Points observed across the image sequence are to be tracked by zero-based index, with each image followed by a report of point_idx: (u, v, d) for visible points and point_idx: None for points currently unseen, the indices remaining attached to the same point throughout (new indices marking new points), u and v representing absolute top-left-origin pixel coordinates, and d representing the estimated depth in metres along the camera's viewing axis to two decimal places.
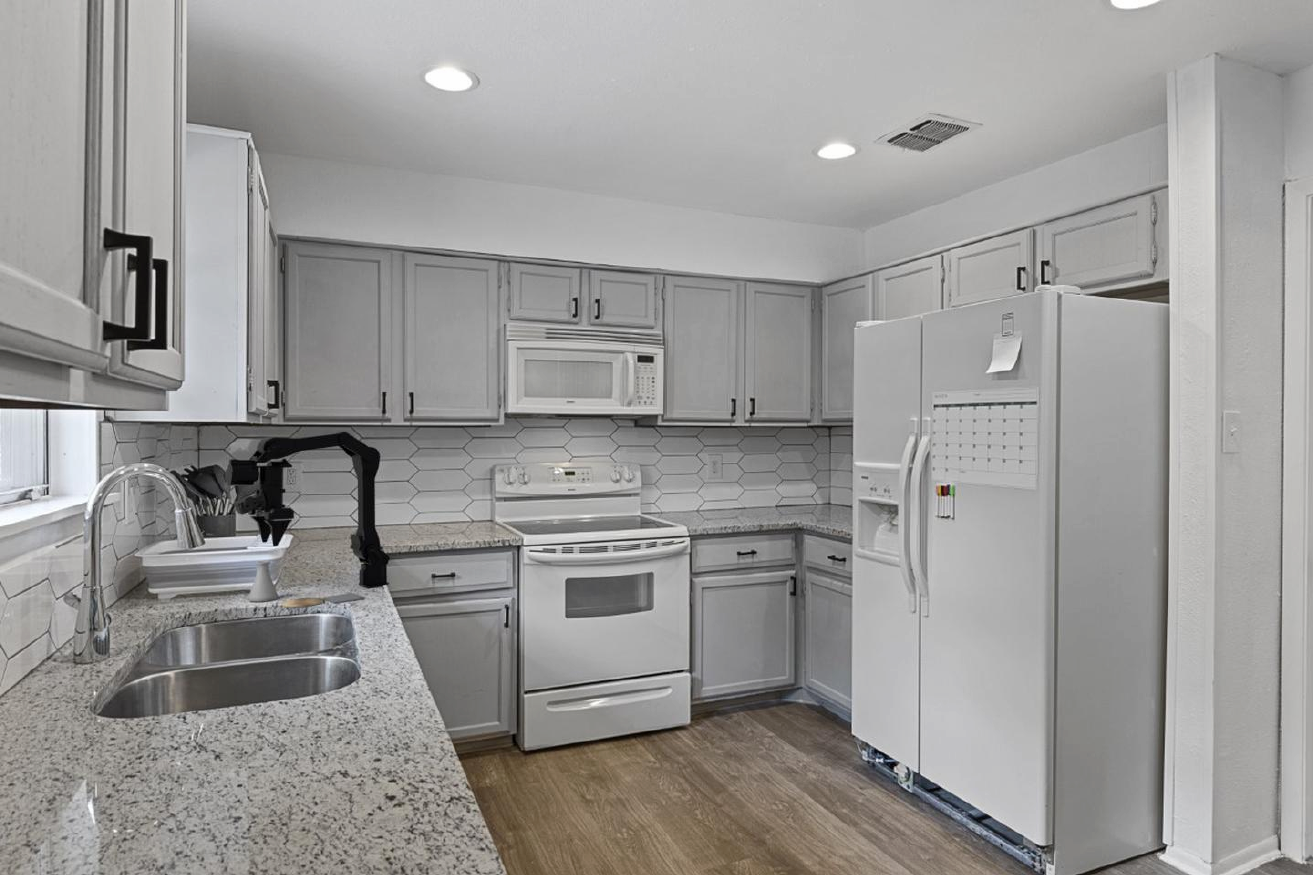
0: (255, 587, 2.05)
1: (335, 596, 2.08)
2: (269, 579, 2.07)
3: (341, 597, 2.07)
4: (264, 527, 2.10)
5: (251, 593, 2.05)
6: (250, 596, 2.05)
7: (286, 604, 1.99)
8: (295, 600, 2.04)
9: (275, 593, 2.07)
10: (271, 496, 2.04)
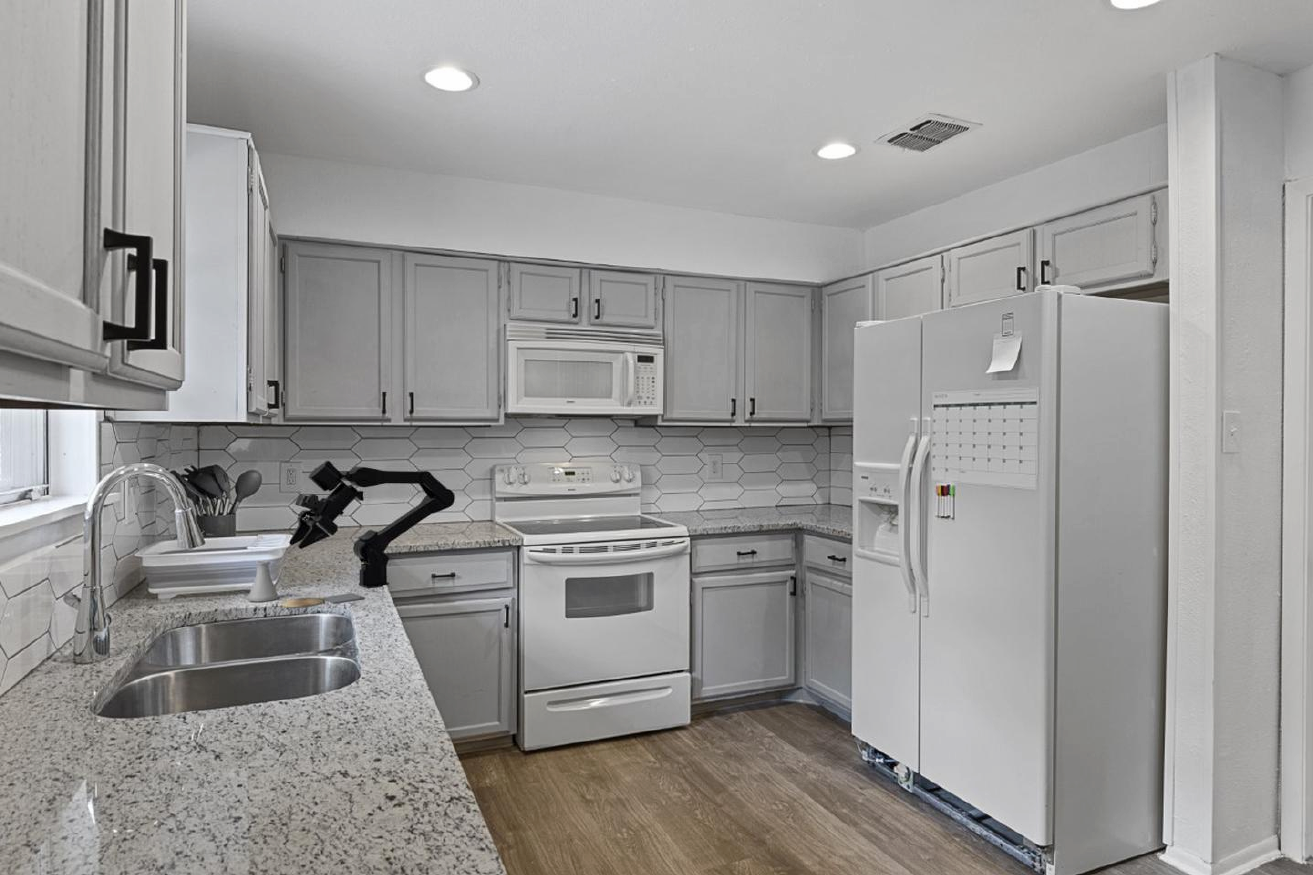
0: (255, 587, 2.05)
1: (335, 596, 2.08)
2: (269, 579, 2.07)
3: (341, 597, 2.07)
4: (301, 532, 2.17)
5: (251, 593, 2.05)
6: (250, 596, 2.05)
7: (286, 604, 1.99)
8: (295, 600, 2.04)
9: (275, 593, 2.07)
10: (330, 509, 2.15)
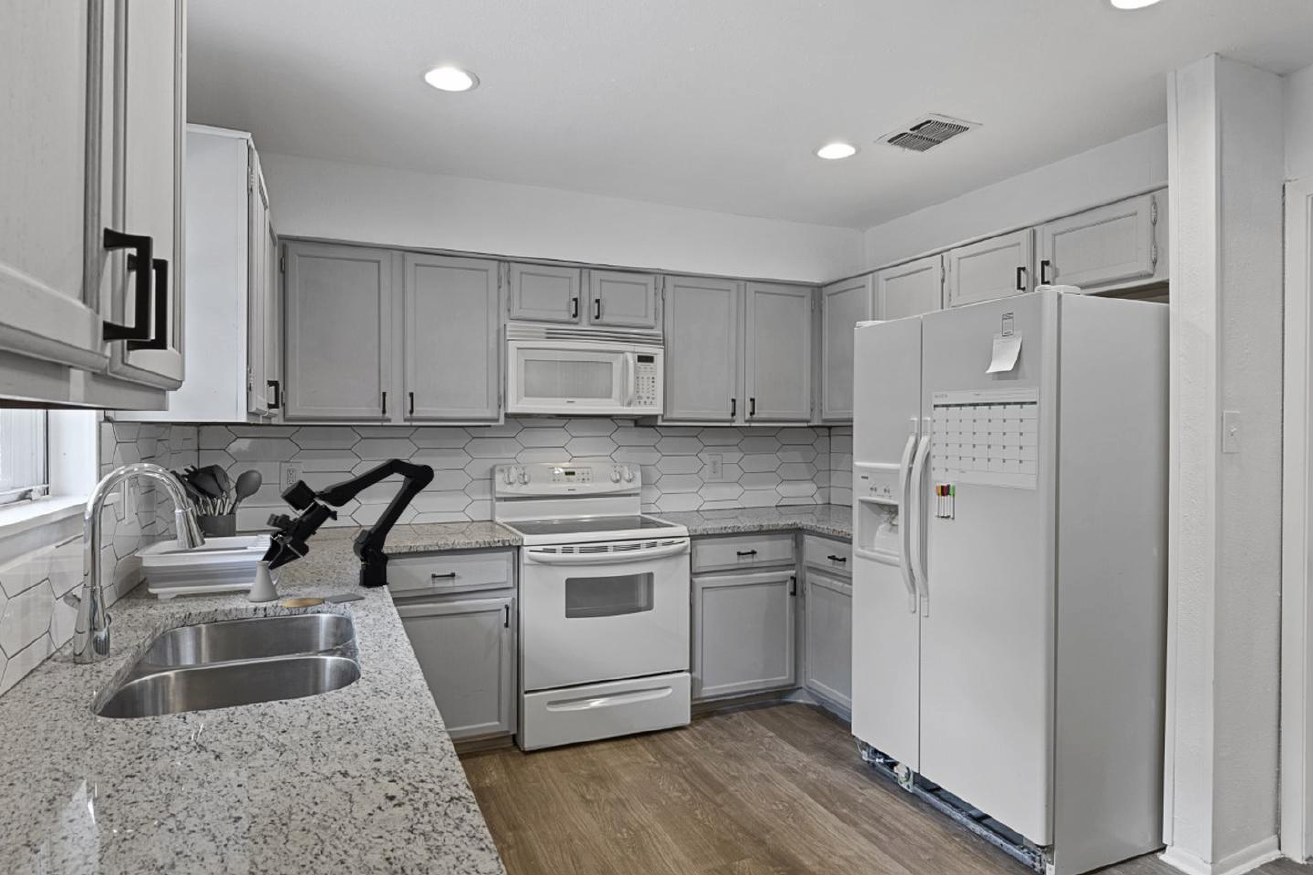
0: (255, 587, 2.05)
1: (335, 596, 2.08)
2: (269, 579, 2.07)
3: (341, 597, 2.07)
4: (272, 552, 2.13)
5: (251, 593, 2.05)
6: (250, 596, 2.05)
7: (286, 604, 1.99)
8: (295, 600, 2.04)
9: (275, 593, 2.07)
10: (302, 529, 2.10)
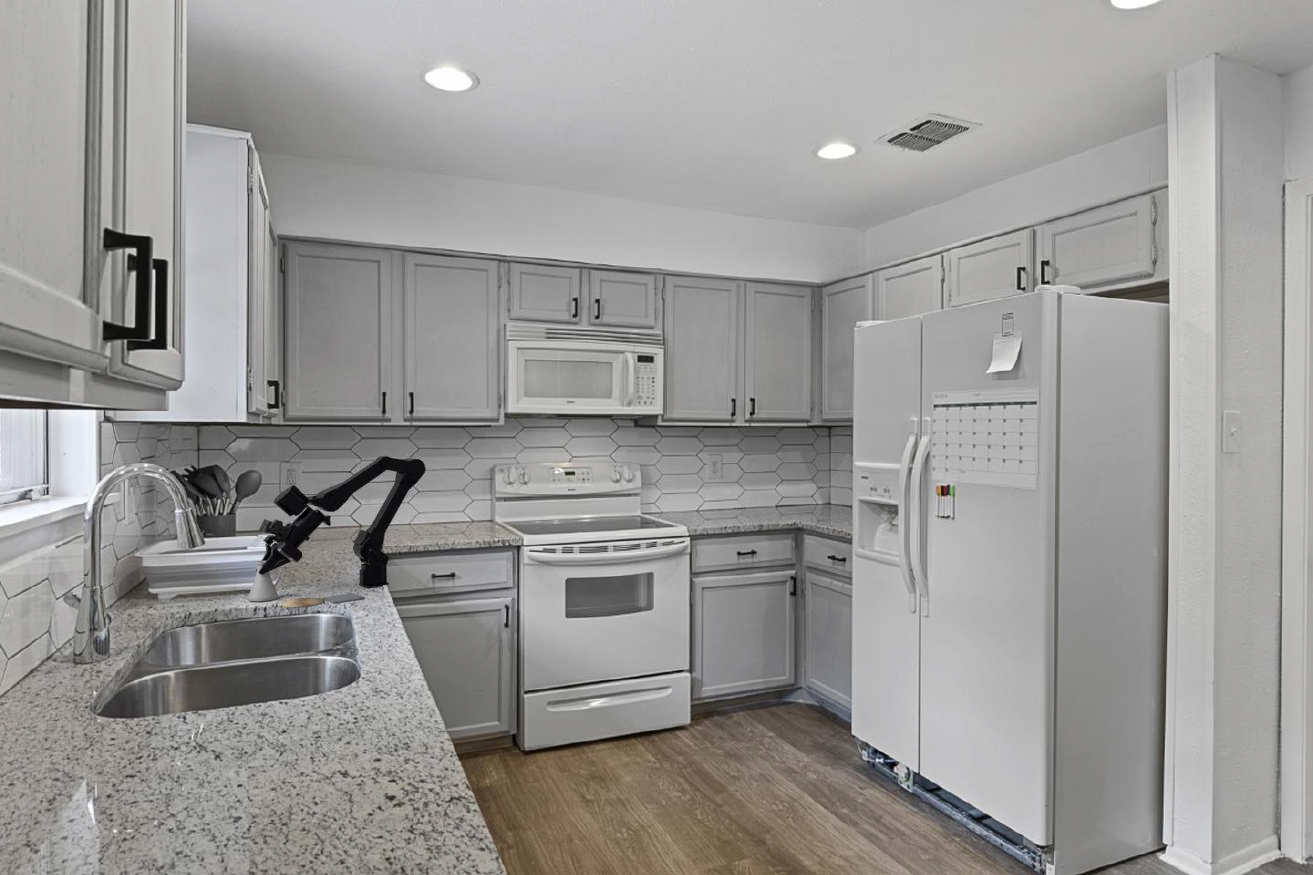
0: (255, 587, 2.05)
1: (335, 596, 2.08)
2: (269, 579, 2.07)
3: (341, 597, 2.07)
4: None
5: (251, 593, 2.05)
6: (250, 596, 2.05)
7: (286, 604, 1.99)
8: (295, 600, 2.04)
9: (275, 593, 2.07)
10: (295, 534, 2.09)
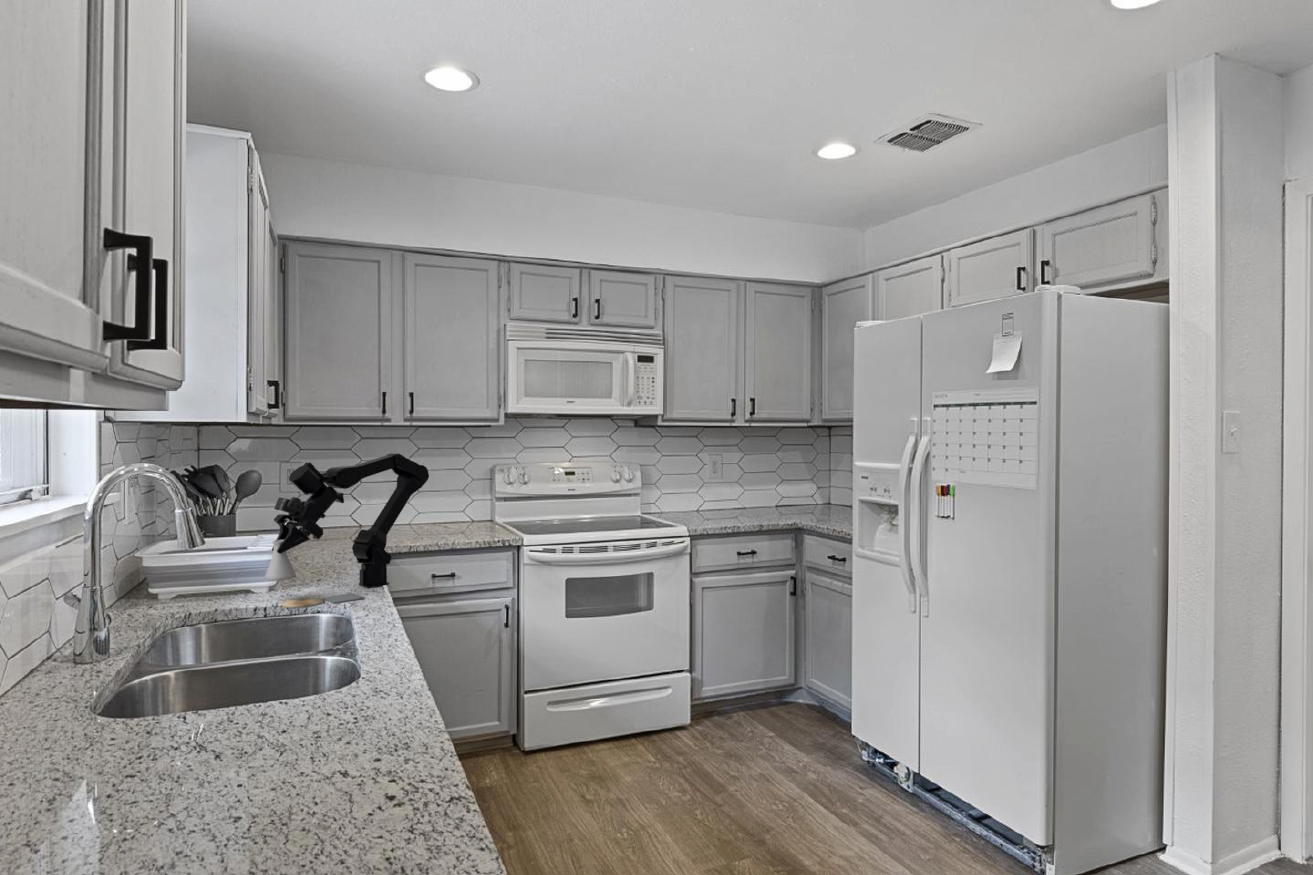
0: (273, 566, 2.02)
1: (335, 596, 2.08)
2: (286, 558, 2.04)
3: (341, 597, 2.07)
4: (284, 538, 2.06)
5: (268, 573, 2.02)
6: (268, 575, 2.02)
7: (286, 604, 1.99)
8: (295, 600, 2.04)
9: (293, 572, 2.05)
10: (312, 512, 2.07)
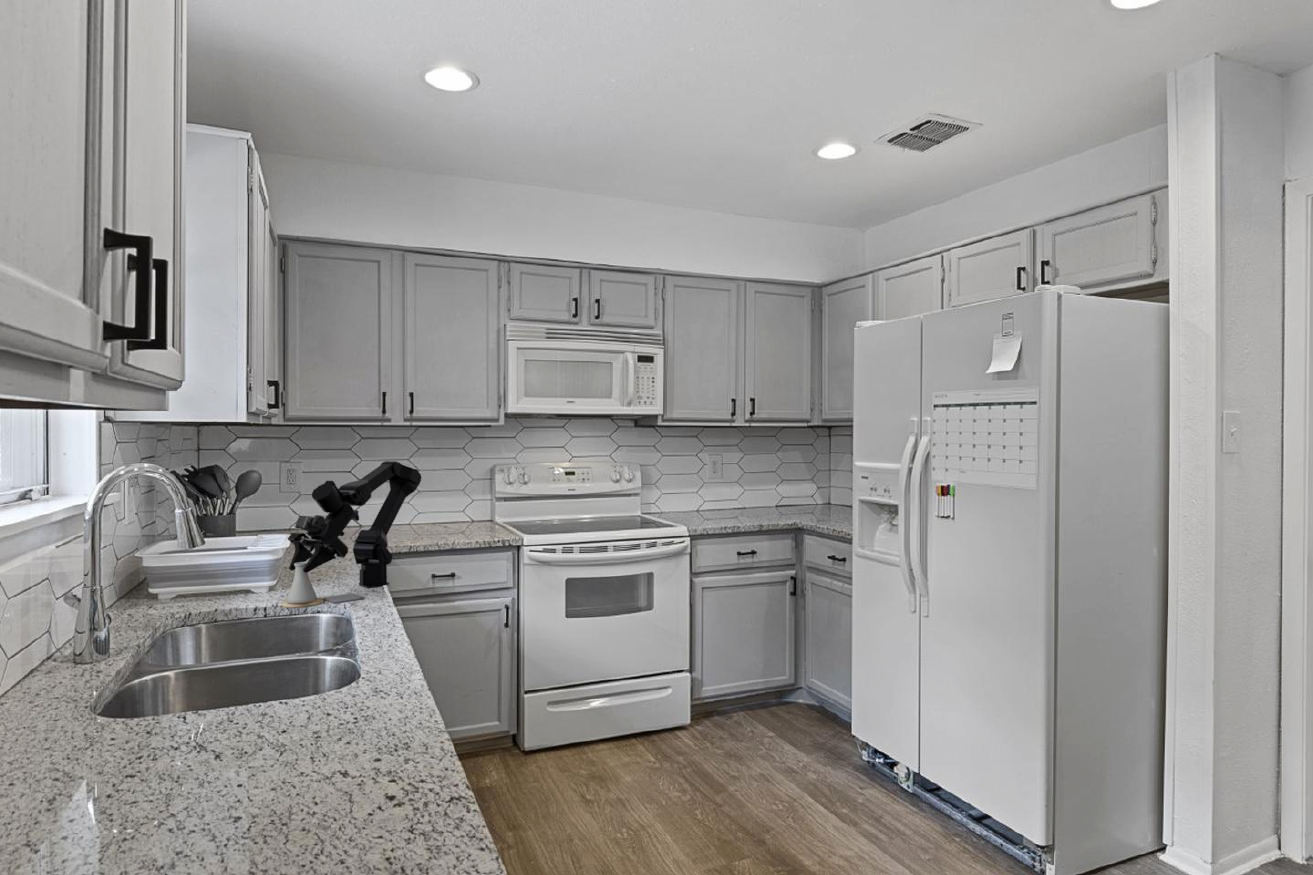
0: (296, 589, 2.00)
1: (335, 596, 2.08)
2: (308, 580, 2.02)
3: (341, 597, 2.07)
4: (300, 556, 2.05)
5: (291, 596, 2.00)
6: (290, 598, 1.99)
7: (286, 604, 1.99)
8: None
9: (314, 594, 2.03)
10: (333, 530, 2.07)
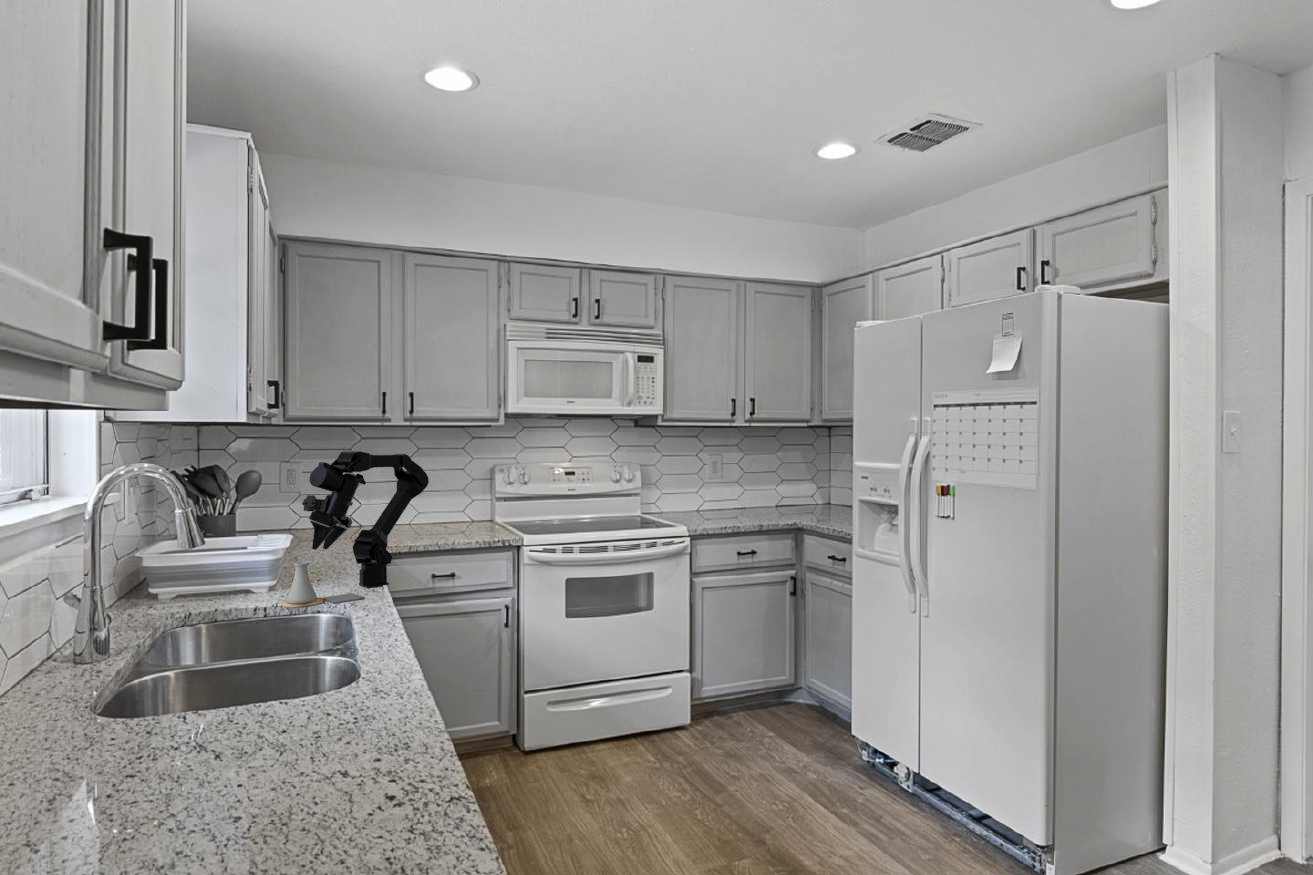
0: (296, 589, 2.00)
1: (335, 596, 2.08)
2: (308, 580, 2.02)
3: (341, 597, 2.07)
4: (330, 535, 2.18)
5: (291, 596, 2.00)
6: (290, 598, 1.99)
7: (286, 604, 1.99)
8: None
9: (314, 594, 2.03)
10: (332, 503, 2.12)
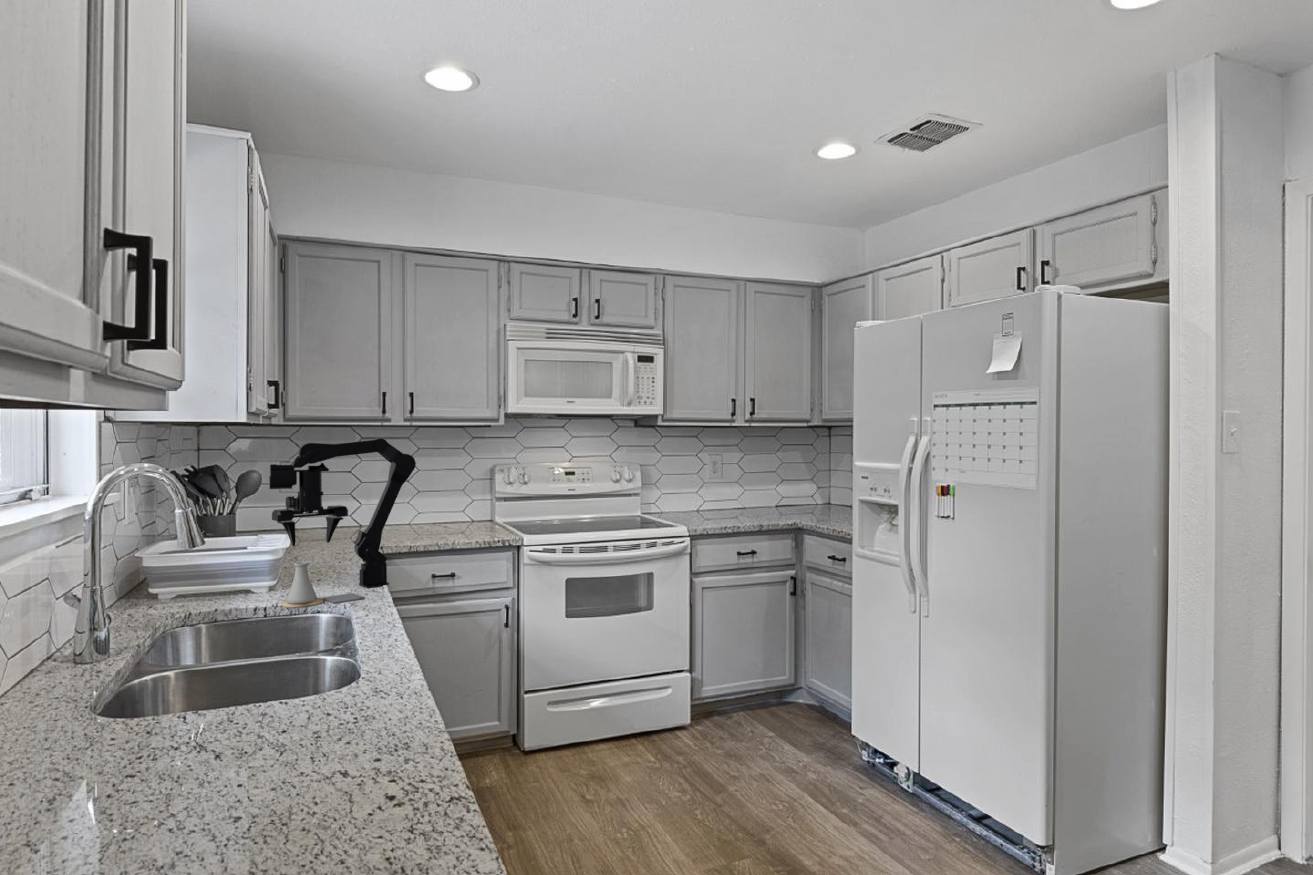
0: (296, 589, 2.00)
1: (335, 596, 2.08)
2: (308, 580, 2.02)
3: (341, 597, 2.07)
4: (328, 528, 2.20)
5: (291, 596, 2.00)
6: (290, 598, 1.99)
7: (286, 604, 1.99)
8: None
9: (314, 594, 2.03)
10: (299, 498, 2.16)
